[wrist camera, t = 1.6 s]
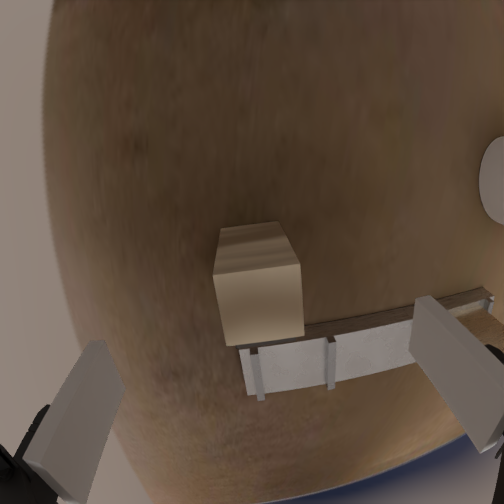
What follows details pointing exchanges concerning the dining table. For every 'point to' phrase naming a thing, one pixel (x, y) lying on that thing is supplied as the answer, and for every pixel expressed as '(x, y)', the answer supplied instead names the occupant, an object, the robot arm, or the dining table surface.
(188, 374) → the dining table surface
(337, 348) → the rail
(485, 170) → the cup
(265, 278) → the block
